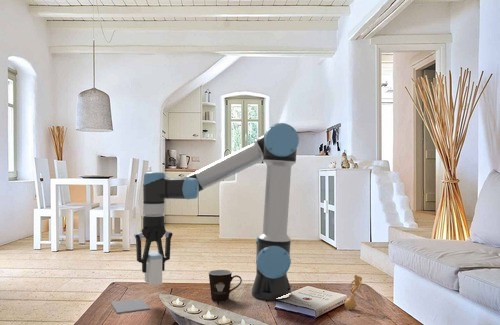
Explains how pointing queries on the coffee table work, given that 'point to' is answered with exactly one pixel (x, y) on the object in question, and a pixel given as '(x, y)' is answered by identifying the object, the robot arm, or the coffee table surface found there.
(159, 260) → the slab
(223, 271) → the coffee mug
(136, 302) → the felt mat
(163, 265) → the robot arm
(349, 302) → the figurine
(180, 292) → the coffee table surface
